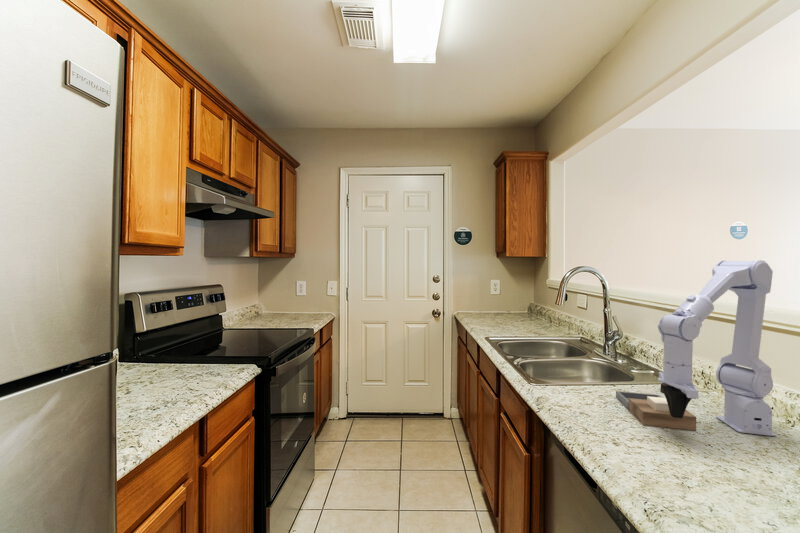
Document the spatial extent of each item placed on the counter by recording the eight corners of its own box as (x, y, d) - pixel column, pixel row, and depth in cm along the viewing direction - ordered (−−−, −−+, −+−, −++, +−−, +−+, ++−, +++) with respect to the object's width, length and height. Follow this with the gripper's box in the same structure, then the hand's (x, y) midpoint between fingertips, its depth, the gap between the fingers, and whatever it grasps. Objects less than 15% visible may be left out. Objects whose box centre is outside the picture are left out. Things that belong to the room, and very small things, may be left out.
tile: (676, 412, 94) (676, 404, 94) (655, 410, 95) (655, 402, 95) (667, 405, 99) (667, 398, 99) (646, 403, 100) (647, 396, 100)
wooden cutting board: (696, 430, 91) (696, 417, 91) (643, 425, 94) (643, 411, 94) (675, 414, 101) (676, 402, 101) (628, 410, 104) (628, 398, 104)
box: (675, 414, 101) (675, 407, 101) (627, 409, 104) (628, 402, 104) (658, 401, 111) (658, 394, 111) (615, 397, 114) (616, 390, 114)
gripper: (646, 354, 97) (645, 404, 97) (674, 369, 83) (672, 427, 83) (676, 356, 96) (675, 406, 96) (709, 372, 81) (708, 431, 82)
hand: (676, 416), depth 89 cm, fingers closed
